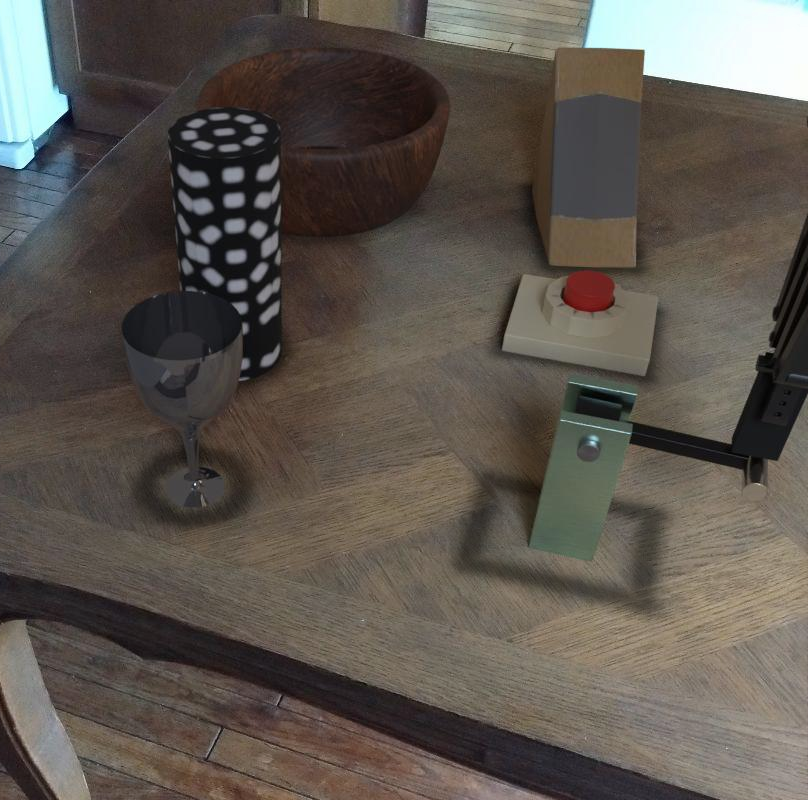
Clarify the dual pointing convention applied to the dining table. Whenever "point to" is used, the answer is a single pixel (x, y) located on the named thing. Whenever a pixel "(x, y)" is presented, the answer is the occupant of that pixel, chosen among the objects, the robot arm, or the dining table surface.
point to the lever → (686, 446)
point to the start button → (589, 291)
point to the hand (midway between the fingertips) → (754, 448)
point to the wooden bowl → (341, 132)
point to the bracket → (582, 470)
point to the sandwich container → (590, 158)
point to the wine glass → (185, 374)
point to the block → (581, 327)
